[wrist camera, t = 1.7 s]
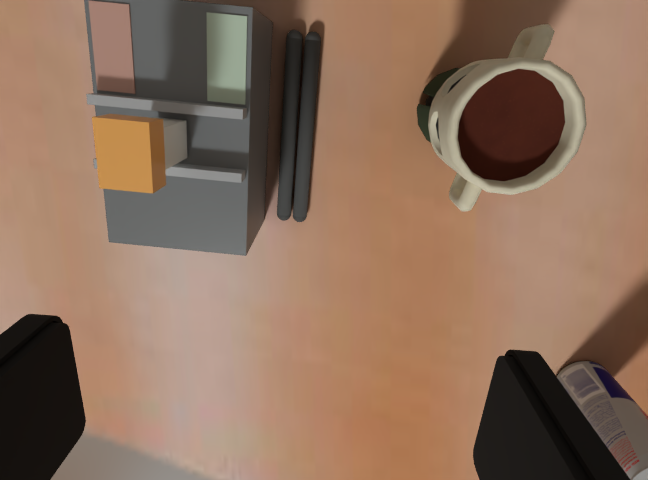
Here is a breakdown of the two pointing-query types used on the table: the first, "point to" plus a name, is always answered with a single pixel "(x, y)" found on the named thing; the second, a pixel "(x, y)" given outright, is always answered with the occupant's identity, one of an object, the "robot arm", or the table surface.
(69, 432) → the robot arm
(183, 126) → the switch
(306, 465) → the table surface
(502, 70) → the character mug
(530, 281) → the table surface
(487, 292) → the table surface
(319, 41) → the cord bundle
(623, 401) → the energy drink
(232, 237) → the grey box
